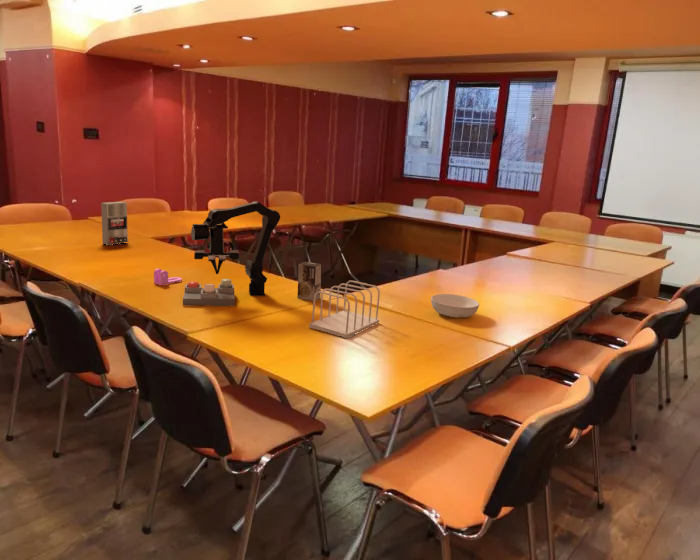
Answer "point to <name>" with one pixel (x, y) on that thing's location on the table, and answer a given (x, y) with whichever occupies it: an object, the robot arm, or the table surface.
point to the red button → (193, 284)
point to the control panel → (209, 296)
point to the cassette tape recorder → (114, 222)
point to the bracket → (164, 277)
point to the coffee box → (309, 280)
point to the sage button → (226, 283)
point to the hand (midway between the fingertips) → (217, 274)
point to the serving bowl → (454, 305)
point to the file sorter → (344, 314)
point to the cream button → (209, 288)
